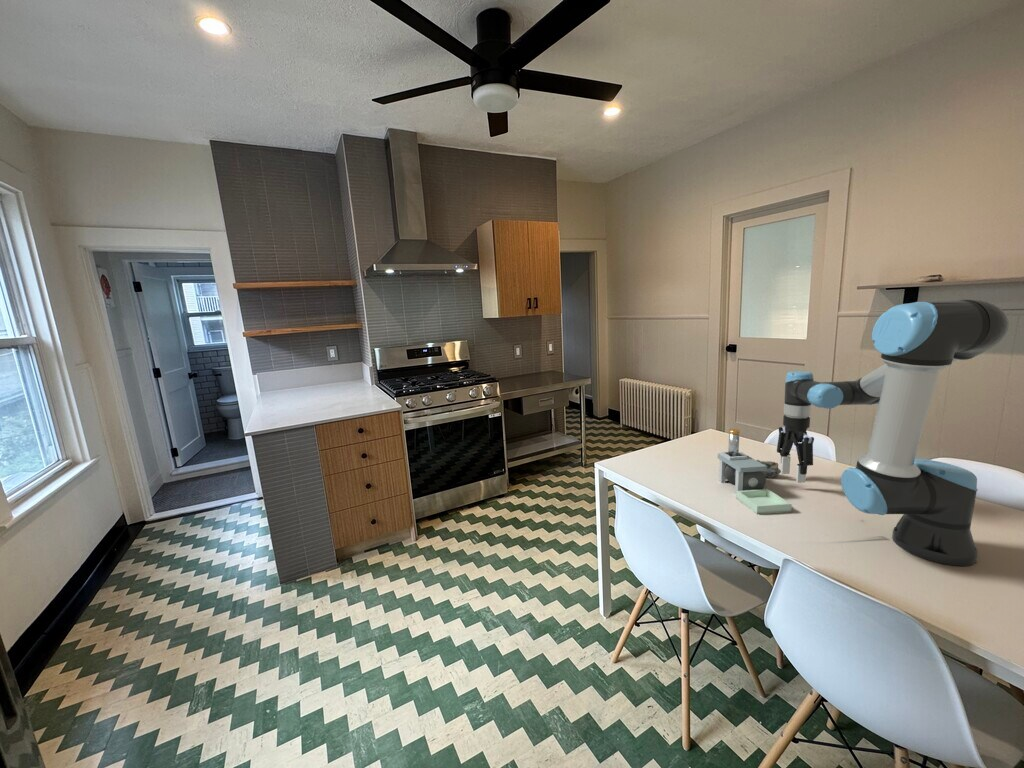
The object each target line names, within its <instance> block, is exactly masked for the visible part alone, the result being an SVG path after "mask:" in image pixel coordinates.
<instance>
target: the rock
mask: <svg viewBox="0 0 1024 768" xmlns="http://www.w3.org/2000/svg"><path fill="white" fill-rule="evenodd" d="M755 460H756V461H758V462H760V463H762V464H764V465H765V466H767V471H761V472H762V473H763V474H764V475H765V478H770V479H772V478H773V479H774V478H775V477H777V476H779V475H780V474H781V468H779V463H778V462H775V461H771V460H770V461H768V460H759V459H755Z"/></svg>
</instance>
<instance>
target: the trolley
mask: <svg viewBox="0 0 1024 768" xmlns="http://www.w3.org/2000/svg"><path fill="white" fill-rule="evenodd" d="M717 459H719V467H718V468H719V470H718V471H719V473H718V475H719V476H718V482H719V483H721V484H722V483H723V484H724V482H726V481H727V482H729V483H731V484H733V485H734V494H735V495H736V491H745V490H761V489H765V486H766V483H767V479H766V478H767V477H765V475H764V474H763V473H762V472H761V471H767V466H765V465H764V464H762V463H760V462H758V461H756V460H757V459H755V458H753V457H751V456H749V455H747V454H745V453H744V452H741V451H739V454H738V456H735V457H730V456H729V455H728V451H720V453H717Z"/></svg>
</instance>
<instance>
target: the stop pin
mask: <svg viewBox="0 0 1024 768" xmlns="http://www.w3.org/2000/svg"><path fill="white" fill-rule="evenodd" d="M740 434H741V431H740V429H736V428H729V429H728V448H727V449H728V450H727V452H728V455H729V456H730V457H735V456H738V454H739V452H740V450H739V448H740V445H739V444H740Z"/></svg>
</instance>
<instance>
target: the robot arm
mask: <svg viewBox="0 0 1024 768" xmlns="http://www.w3.org/2000/svg"><path fill="white" fill-rule="evenodd" d="M1009 322H1010V321H1009V318H1008V316H1007V314H1006V313H1005V311H1004V310H1003V309H1002V308H1001V307H999V306H998V305H996V304H994V303H992V302H988V301H987V300H986V301H985V300H981V299H959V300H958V299H957V300H941V301H940V300H939V301H915V302H910V303H902V304H897V305H894V306H892V307H890V308H888V310H886V311H885V312H884V311H883V313H882V314H881V315H880V316H879V317H878V319H877V320H876V322H875V323H874V325H873V328H872V333H871V341H872V342H874V344H873V346H874V348H875V349H876V351H878V352H879V353H880V354H881V355H880V360H882V362H883V364H882V365H881V366H879V367H877V368H876V369H874V370H872V371H871V372H869V373H867V374H866V375H864V376H862V377H860V378H858V379H856V380H850V381H849V380H847V381H816V380H814V374H813V373H812V372H811V371H804V370H803V371H802V370H801V371H799V370H795V371H788V372H787V373H786V376H785V382H784V402H783V414H784V415H783V417H782V425H783V426H781V427H780V426H779V427H778V438H777V447H776V453H778V454H779V455H780V464H781V465H780V470H781V473H780V475H789V474H790V471H791V470H790V469H791V450H792V448H793V445H794V446H795V448H796V454H797V459H798V463H797V464H796V472H795V473H796V475H795V476H796V477H795V482H796V483H797V484H799V483H800V484H801V483H802V484H803V483H806V475H807V474H808V466H809V467H810V466H813V465H814V447H813V446H814V441H815V438H814V436H809V435H808V432H807V430H808V429H809V428H811V427H810V426H811V417H810V416H811V409H812V408H811V407H812V406H815V407H817V408H820V409H827V410H828V409H830V410H831V409H834V408H836V407H838V406H854V405H855V406H856V405H858V406H860V405H862V406H863V405H867V406H871V405H877V404H878V406H877V409H876V414H875V417H874V418H875V419H874V423H873V427H872V431H871V435H870V438H869V439H870V440H869V445H868V449H867V452H866V453H863V454H861V455H859V456H858V457H857V462H856V465H855V467H848V468H847V469H845V470H844V471H843V472H842V474H841V477H840V482H841V483H840V484H841V487H842V491H843V493H844V495H845V497H846V499H847V501H848V502H849V503H850V504H851V505H852V507H854V508H855V509H856V510H858V511H860V512H862V513H864V514H869V515H879V516H884V515H902V516H901V518H900V519H899V520H898V521H897V523H896V525H895V526H894V528H893V529H892V534H891V539H892V541H893V543H895V544H896V545H897V546H898V547H899V548H900V549H903V550H904V551H905V552H908V553H910V554H913V555H915V556H917V557H919V558H922V559H925V560H929V561H931V562H935V563H938V564H939V563H940V564H943V565H944V564H945V565H949V566H950V565H951V566H960V567H962V566H963V567H966V566H971V565H972V566H973V565H974V564H976V563H977V562H978V561H977V560H978V556H979V554H978V553H979V552H978V550H977V547H976V546H975V543H974V542H975V541H974V538H973V533H972V530H971V527H972V526H971V525H972V521H973V515H974V509H975V502H976V498H977V492H978V487H977V486H978V477H977V476H976V475H975V473H973V472H972V471H970V470H968V469H966V468H963V467H960V466H957V465H954V464H950V463H947V462H942V461H938V460H937V461H936V460H933V459H926V458H917V453H918V450H919V446H920V442H921V438H922V437H923V436H922V435H923V432H924V428H925V424H926V421H927V417H928V413H929V410H930V406H931V403H932V399H933V395H934V391H935V388H936V385H937V380H938V377H939V373H940V371H942V370H944V369H946V368H948V367H950V366H952V363H954V362H956V361H967V360H972V359H973V358H975V357H978V356H979V355H982V354H984V353H985V352H987V351H989V350H991V349H993V348H994V347H995V346H997V345H998V344H1000V343H1001V342H1002V341H1003V340H1004V338H1005V337H1006V336H1007V333H1008V332H1009V329H1010V328H1009V327H1010V323H1009Z"/></svg>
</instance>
